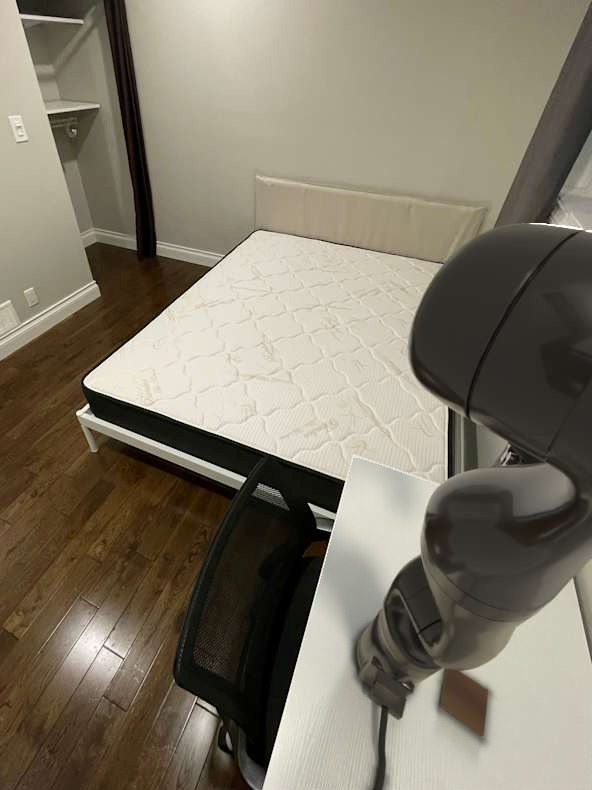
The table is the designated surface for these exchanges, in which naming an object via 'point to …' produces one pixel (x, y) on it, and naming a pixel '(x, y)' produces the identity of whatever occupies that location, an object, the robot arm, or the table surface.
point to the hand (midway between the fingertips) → (493, 495)
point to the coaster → (465, 700)
